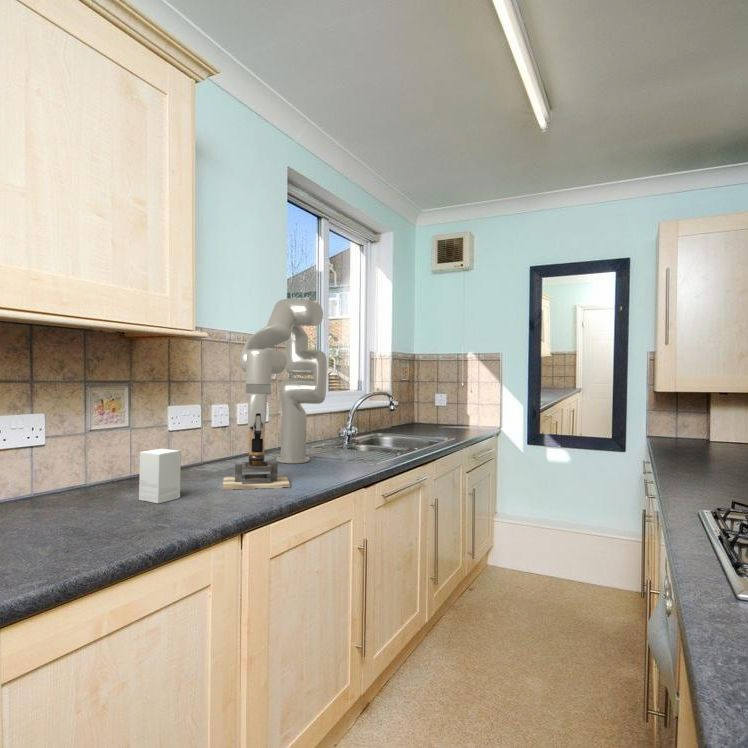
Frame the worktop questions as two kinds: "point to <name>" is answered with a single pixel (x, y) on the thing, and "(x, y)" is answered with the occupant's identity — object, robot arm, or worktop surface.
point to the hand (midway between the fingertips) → (256, 450)
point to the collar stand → (255, 477)
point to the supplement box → (159, 475)
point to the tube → (256, 457)
